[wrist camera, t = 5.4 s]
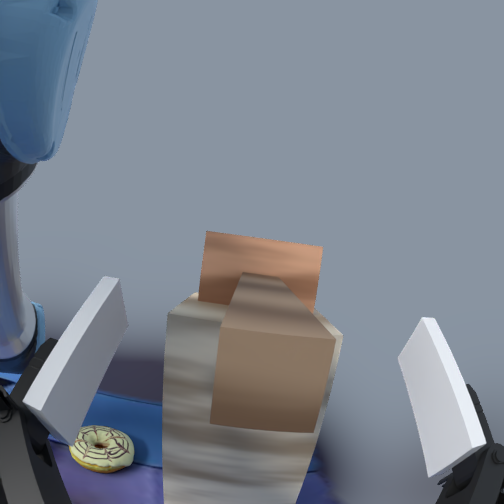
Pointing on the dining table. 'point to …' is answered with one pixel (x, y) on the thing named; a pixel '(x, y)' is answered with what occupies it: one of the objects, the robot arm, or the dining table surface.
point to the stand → (223, 437)
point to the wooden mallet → (266, 333)
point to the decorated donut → (102, 449)
